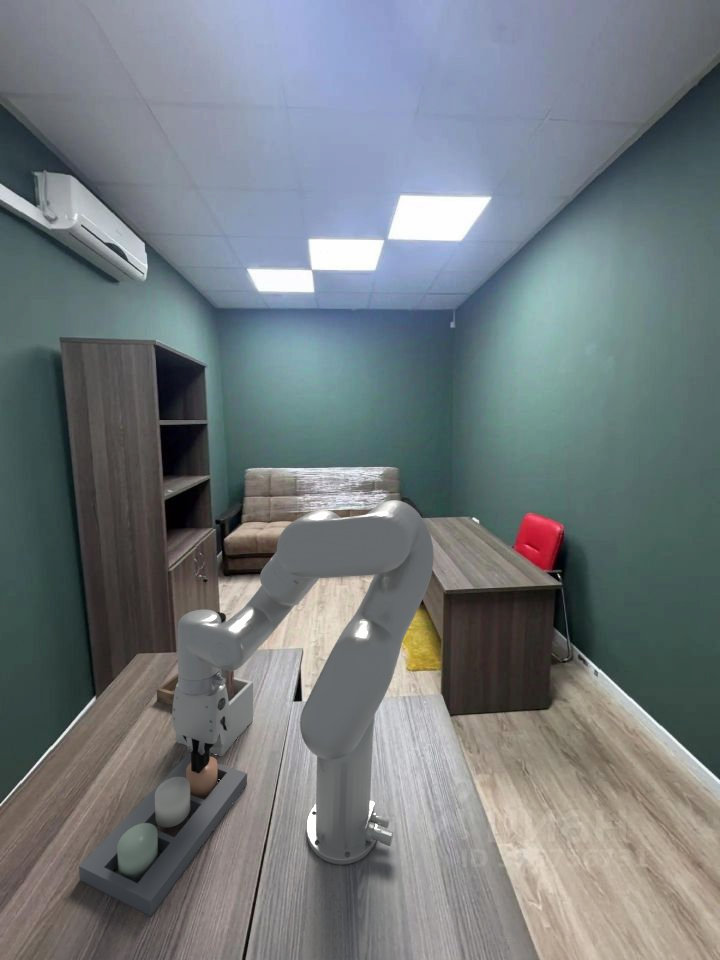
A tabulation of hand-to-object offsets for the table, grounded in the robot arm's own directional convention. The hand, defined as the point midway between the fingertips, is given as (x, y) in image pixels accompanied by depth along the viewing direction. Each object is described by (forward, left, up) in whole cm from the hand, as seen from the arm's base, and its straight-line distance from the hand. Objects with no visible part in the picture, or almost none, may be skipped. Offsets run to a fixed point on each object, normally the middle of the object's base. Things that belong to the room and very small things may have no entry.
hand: (200, 766), depth 80 cm
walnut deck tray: (+22, -25, -5) cm, 33 cm away
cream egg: (0, +7, -3) cm, 8 cm away
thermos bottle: (+8, -15, -6) cm, 17 cm away
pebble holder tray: (0, +7, -5) cm, 9 cm away
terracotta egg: (0, 0, -5) cm, 5 cm away
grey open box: (+8, -15, -5) cm, 17 cm away
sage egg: (0, +15, -5) cm, 16 cm away
